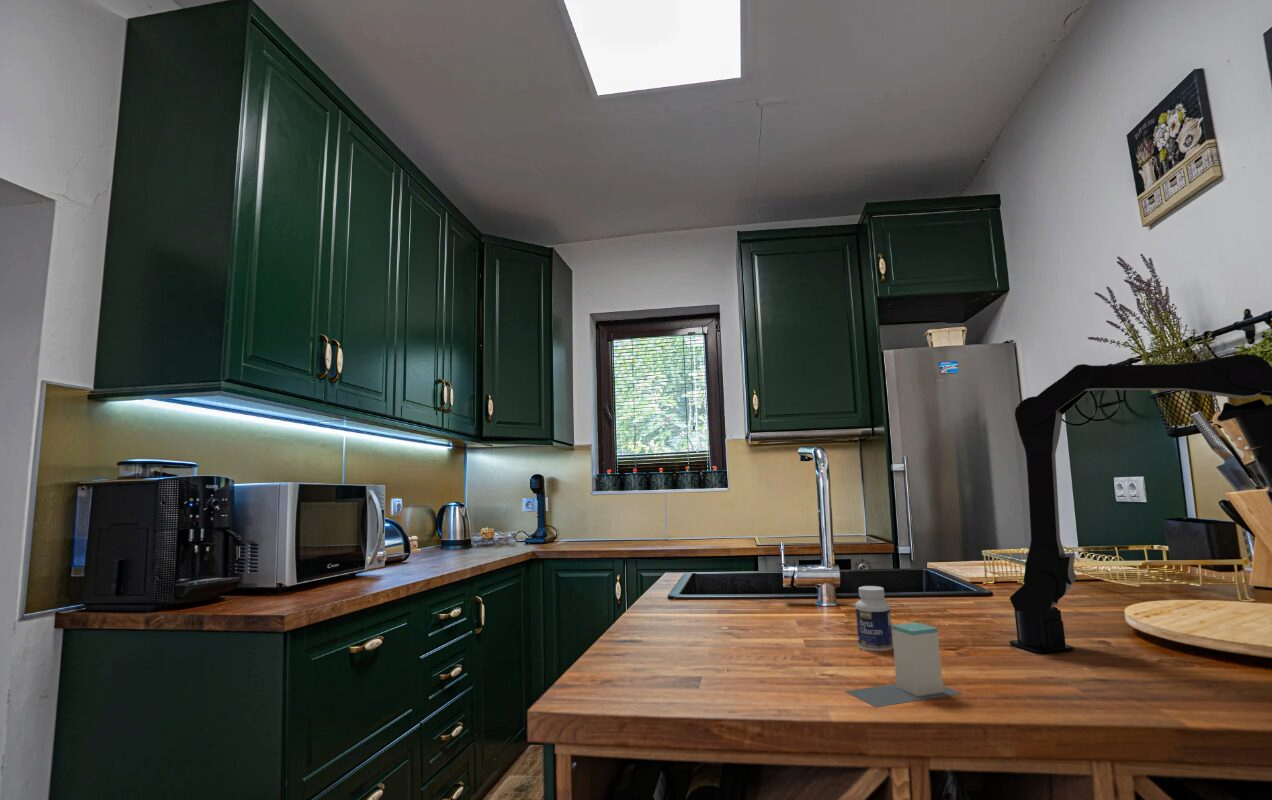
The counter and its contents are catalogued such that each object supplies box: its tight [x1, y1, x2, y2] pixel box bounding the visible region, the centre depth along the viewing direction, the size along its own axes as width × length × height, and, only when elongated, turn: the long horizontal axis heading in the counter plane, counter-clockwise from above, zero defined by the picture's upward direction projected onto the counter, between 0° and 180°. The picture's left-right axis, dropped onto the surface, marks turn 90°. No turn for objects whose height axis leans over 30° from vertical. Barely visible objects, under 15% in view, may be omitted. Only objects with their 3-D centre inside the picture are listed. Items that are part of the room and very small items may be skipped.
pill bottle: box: [855, 585, 894, 652], centre depth 110 cm, size 5×5×10 cm
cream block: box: [891, 622, 944, 696], centre depth 87 cm, size 4×4×8 cm
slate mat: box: [844, 683, 964, 708], centre depth 86 cm, size 13×7×1 cm, turn 106°
